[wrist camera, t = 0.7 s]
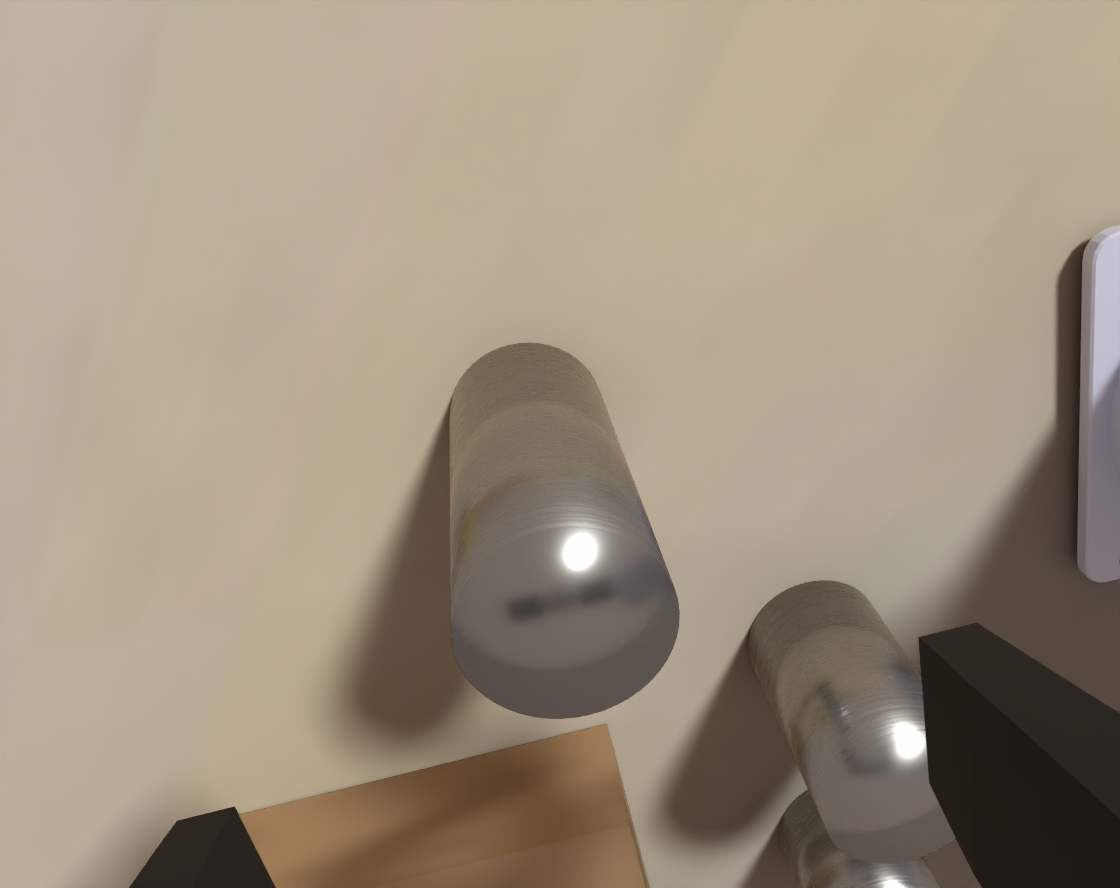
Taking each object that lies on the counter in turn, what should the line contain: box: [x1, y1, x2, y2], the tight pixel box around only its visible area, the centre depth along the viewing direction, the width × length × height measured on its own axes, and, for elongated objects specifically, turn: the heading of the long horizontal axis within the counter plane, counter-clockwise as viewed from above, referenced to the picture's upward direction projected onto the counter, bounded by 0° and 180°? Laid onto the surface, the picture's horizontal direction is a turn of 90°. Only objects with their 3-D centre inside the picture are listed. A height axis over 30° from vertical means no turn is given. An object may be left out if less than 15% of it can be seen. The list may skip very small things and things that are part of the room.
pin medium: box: [748, 581, 956, 864], centre depth 20 cm, size 3×3×5 cm
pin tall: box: [449, 343, 679, 719], centre depth 16 cm, size 3×3×7 cm
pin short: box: [779, 790, 940, 888], centre depth 23 cm, size 3×3×4 cm
